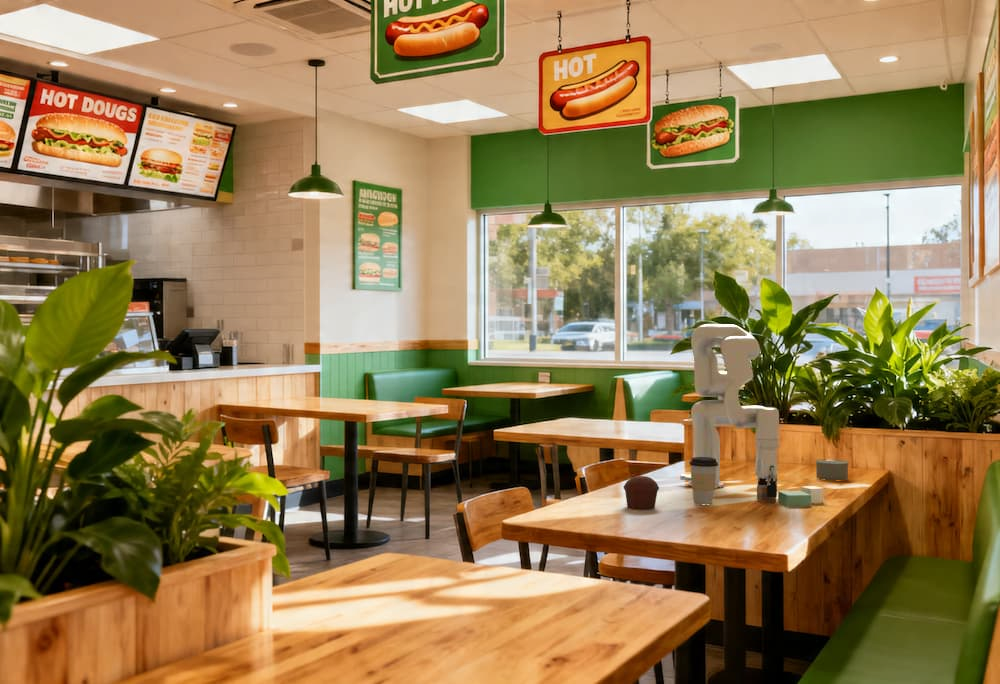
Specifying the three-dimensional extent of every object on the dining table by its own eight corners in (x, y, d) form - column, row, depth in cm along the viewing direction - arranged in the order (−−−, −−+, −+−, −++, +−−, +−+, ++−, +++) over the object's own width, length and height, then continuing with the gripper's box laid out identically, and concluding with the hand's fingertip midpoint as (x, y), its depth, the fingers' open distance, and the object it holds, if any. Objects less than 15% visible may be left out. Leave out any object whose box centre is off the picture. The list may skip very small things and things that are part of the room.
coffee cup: (686, 505, 308) (687, 459, 308) (691, 500, 317) (691, 456, 317) (715, 507, 305) (716, 461, 305) (719, 502, 314) (720, 457, 314)
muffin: (638, 512, 296) (638, 480, 296) (615, 506, 305) (616, 475, 305) (666, 508, 302) (666, 477, 302) (643, 503, 312) (644, 473, 311)
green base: (787, 507, 307) (787, 495, 307) (778, 503, 315) (778, 491, 315) (810, 507, 308) (811, 495, 308) (801, 502, 316) (801, 491, 316)
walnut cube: (761, 502, 315) (761, 487, 315) (756, 499, 320) (757, 485, 320) (776, 502, 316) (776, 487, 315) (771, 499, 321) (771, 485, 320)
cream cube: (810, 503, 313) (810, 488, 313) (801, 501, 318) (801, 486, 318) (823, 503, 315) (823, 488, 315) (814, 500, 319) (814, 485, 319)
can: (819, 480, 362) (819, 463, 362) (812, 476, 374) (813, 459, 374) (851, 481, 360) (852, 464, 360) (844, 477, 372) (844, 459, 372)
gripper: (748, 441, 326) (748, 490, 326) (764, 447, 309) (764, 499, 309) (770, 441, 326) (770, 490, 326) (786, 447, 309) (786, 498, 309)
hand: (767, 494), depth 318 cm, fingers open, 9 cm apart
